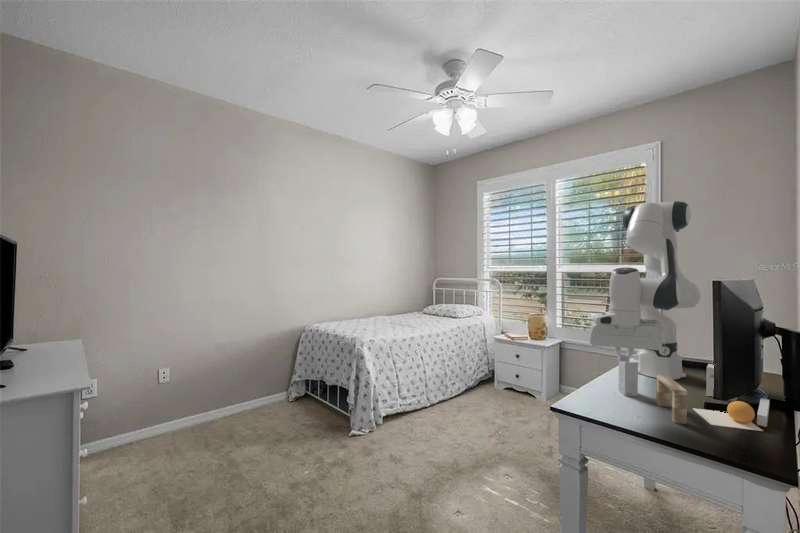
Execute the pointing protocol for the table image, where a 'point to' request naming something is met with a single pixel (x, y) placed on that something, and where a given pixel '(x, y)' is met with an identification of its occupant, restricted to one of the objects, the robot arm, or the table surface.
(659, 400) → the bridge
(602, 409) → the table surface
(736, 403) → the ball
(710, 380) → the small box
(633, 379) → the skincare box
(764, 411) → the rail
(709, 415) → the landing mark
